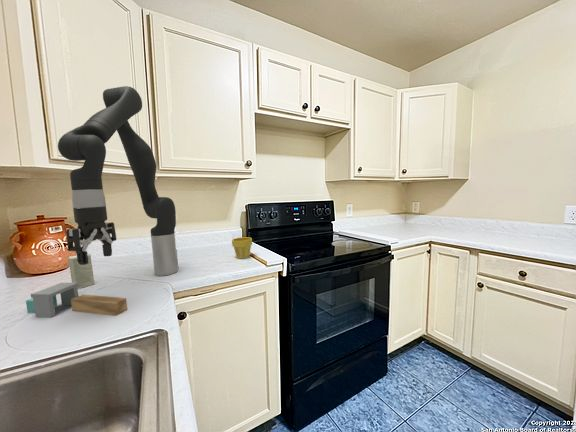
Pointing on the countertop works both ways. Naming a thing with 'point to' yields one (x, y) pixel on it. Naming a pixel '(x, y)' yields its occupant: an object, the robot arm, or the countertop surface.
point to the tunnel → (45, 298)
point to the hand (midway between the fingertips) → (96, 260)
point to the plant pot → (242, 247)
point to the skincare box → (81, 272)
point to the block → (31, 305)
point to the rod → (99, 304)
